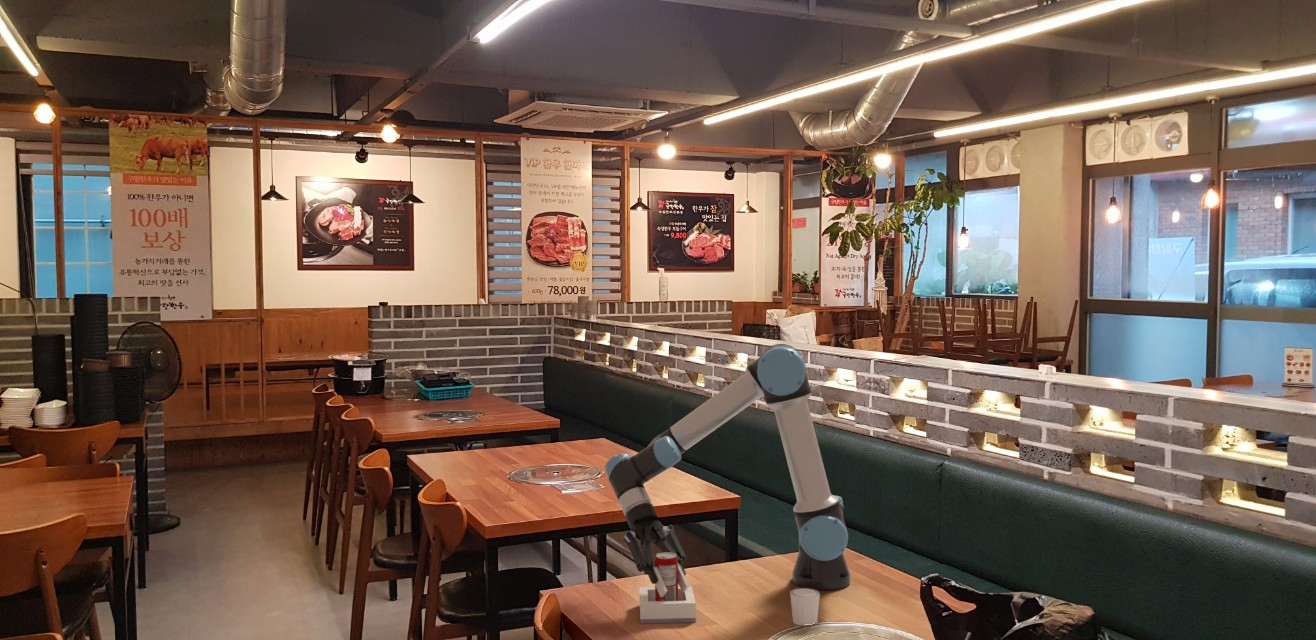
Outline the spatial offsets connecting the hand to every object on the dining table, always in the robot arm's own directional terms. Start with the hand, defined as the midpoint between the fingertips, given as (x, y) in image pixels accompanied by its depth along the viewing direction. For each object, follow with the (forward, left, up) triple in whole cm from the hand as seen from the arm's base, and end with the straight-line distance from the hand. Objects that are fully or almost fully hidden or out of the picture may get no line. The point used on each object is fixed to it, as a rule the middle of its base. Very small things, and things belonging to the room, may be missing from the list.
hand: (675, 591), depth 227 cm
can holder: (+2, -3, -6) cm, 7 cm away
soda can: (+2, -3, -4) cm, 6 cm away
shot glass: (-30, +5, -7) cm, 31 cm away
